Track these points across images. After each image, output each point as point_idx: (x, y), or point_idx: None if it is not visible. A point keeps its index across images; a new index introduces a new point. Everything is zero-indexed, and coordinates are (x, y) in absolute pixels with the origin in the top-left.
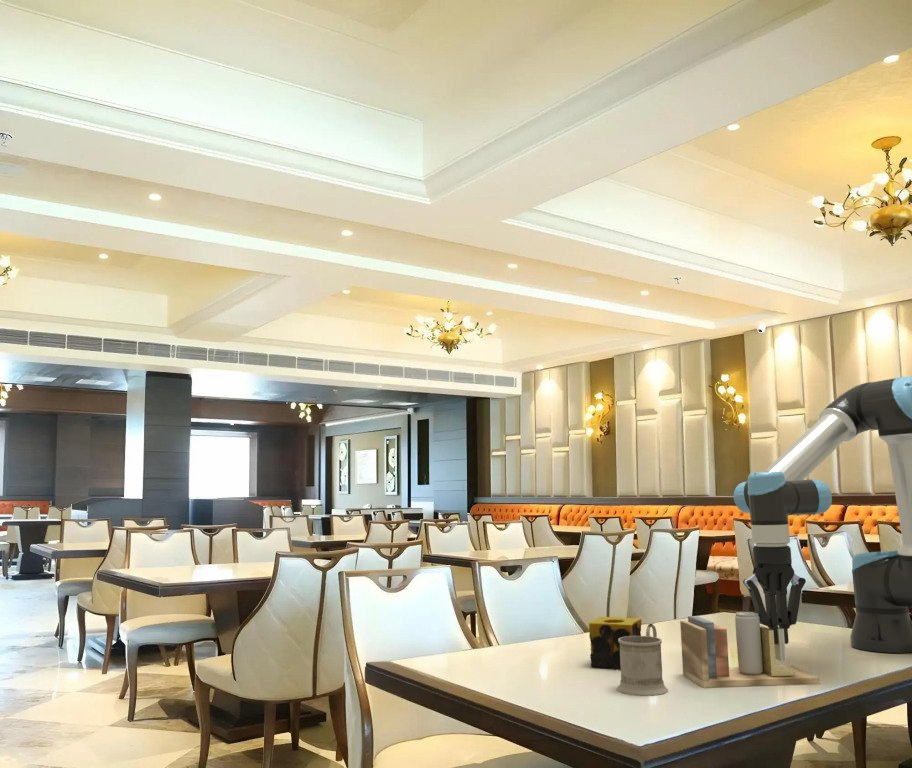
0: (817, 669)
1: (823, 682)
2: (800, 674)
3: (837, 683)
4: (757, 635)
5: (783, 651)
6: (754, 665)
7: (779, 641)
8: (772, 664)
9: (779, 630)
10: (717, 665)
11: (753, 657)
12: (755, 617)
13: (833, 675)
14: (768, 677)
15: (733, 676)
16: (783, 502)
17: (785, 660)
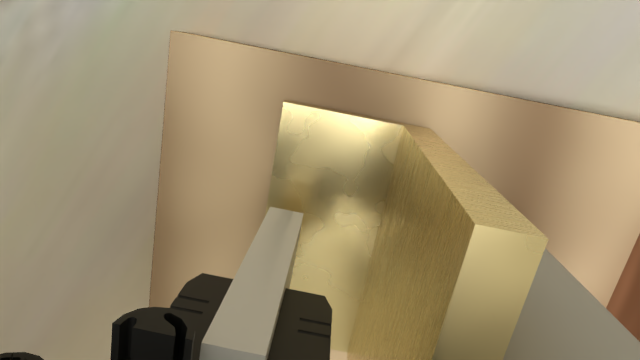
0: (28, 302)
1: (149, 57)
2: (229, 136)
3: (92, 10)
4: (545, 341)
5: (272, 236)
6: None
7: (284, 282)
8: (434, 138)
9: (259, 342)
10: None
11: None
12: None
13: (19, 175)
14: (449, 130)
15: (614, 220)
16: None
17: (275, 208)
